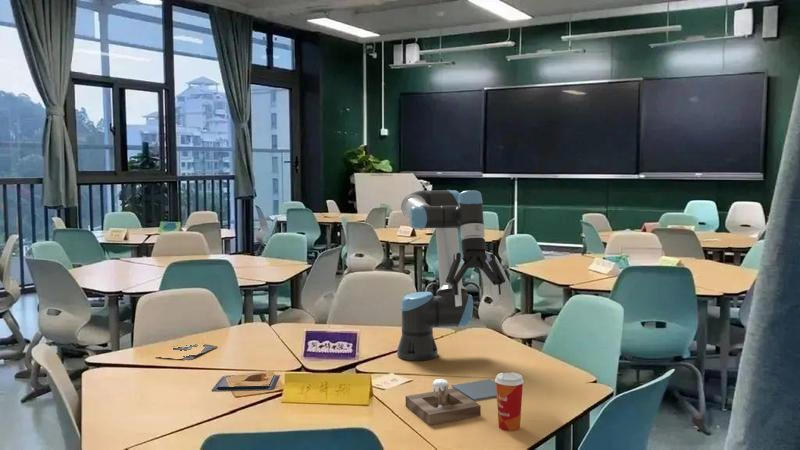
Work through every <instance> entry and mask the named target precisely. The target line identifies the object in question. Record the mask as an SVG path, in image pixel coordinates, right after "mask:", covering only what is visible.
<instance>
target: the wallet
mask: <svg viewBox="0 0 800 450" xmlns="http://www.w3.org/2000/svg"><path fill="white" fill-rule="evenodd" d="M231 376H235V375H234V374H233V375H231V374H230V375H225V376H222V377H221V378H220V379H219V380H218V382H217V383H216V384H215V385H214V386H213V387H212V388H211V392H216V393H217V392H245V391H246V392H247V391H249V392H250V391H251V392H252V391H253V392H254V391H272V390H275V389H276V387H277V384H278V381H279V379H280V376H281V375H280V374H274V376H273V378H272V380H271V382H270V384H269V386H234V387H228V385H227V382H226V378H227V377H231Z"/></svg>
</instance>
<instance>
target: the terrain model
mask: <svg viewBox="0 0 800 450" xmlns="http://www.w3.org/2000/svg"><path fill="white" fill-rule="evenodd" d="M203 344H204V345H203V347H205V348H204V349H203V350H202V351H201V353H199V354H197V355H189V356H186V357H185V356H183V357H184V358H182V359H180V360H179V361H185V360H187V361H193V360H195V359H198V358H199V357H202V356H204V355H206V354H208V353H211V352H212V351H214V350H216V349H218V348H219V347H220V348H221V346H219V347H218V346H217V345H214V344H213V345H212V344H206V343H203ZM186 346H187V345H186ZM197 346H198V345H197V344H195V345H193V346H192V345H190V346H189V347H178V348H173V350H180V351H182V350H184V351H187V350H191V349H192V347H197Z"/></svg>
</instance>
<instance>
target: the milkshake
mask: <svg viewBox="0 0 800 450" xmlns="http://www.w3.org/2000/svg"><path fill="white" fill-rule="evenodd" d="M450 381H451V380H449V381H448V380H446V379H444V378H437V379H434V381H433V382H432V389H433V391H434V401H435V406H434V408H440V407H446V406H448V404H447V397H448V389H449V385H450ZM433 391H432V392H433Z"/></svg>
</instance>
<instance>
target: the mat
mask: <svg viewBox="0 0 800 450" xmlns="http://www.w3.org/2000/svg"><path fill="white" fill-rule="evenodd" d="M452 388H454V389H456V390H457V391H459V392H460V393H462V394H464V395H465V396H467V397H468V398H470V399H471V400H473V401H474V402H476V401H481V400H488V399H494V398H497V389H496V382H495V380H492V379H490V378H489V379H482V380H476V381H469V382H464V383H458V384H457V383H456V384H451V389H452Z"/></svg>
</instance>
